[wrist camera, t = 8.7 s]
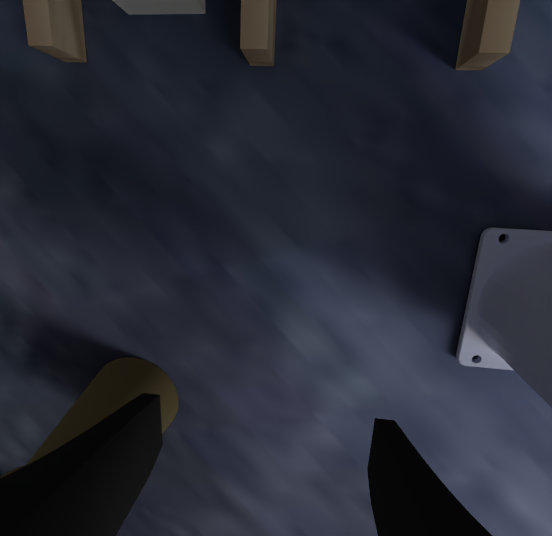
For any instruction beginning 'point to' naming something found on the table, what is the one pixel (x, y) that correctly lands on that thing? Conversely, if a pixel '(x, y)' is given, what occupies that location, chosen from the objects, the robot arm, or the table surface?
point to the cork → (112, 400)
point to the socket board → (272, 31)
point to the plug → (162, 6)
